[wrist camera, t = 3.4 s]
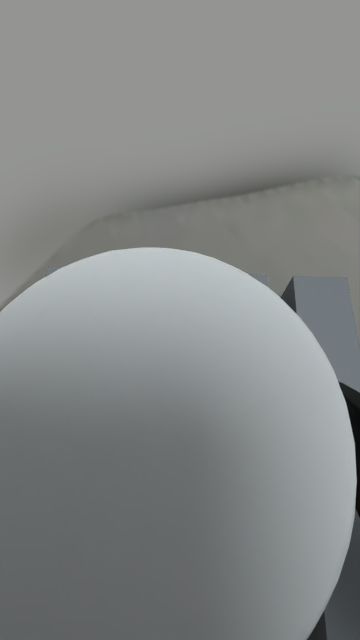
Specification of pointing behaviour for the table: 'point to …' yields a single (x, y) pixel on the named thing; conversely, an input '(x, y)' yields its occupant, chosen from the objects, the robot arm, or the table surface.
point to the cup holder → (356, 372)
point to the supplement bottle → (167, 456)
